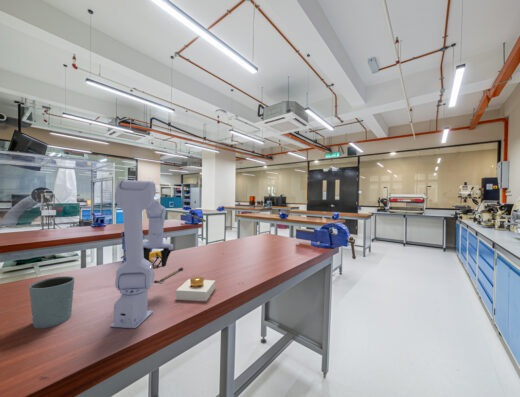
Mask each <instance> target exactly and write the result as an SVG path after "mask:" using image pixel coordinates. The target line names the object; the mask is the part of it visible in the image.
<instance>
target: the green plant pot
mask: <svg viewBox="0 0 520 397" xmlns="http://www.w3.org/2000/svg"><path fill="white" fill-rule="evenodd" d="M75 280H76V279H75V277H73V276H70V275H69V276H67V275H66V276H56V277H50V278H46V279H42V280H39V281H36V282H33V283H31V284H30V285H29V287H28V289H29V297H30V308H31V315H32V318H31V319H32V326H33V328H34V329H46V328H51V327H56V326H58V325H60V324H62V323H63V324H64V322H67V321H68V320H69V319H70V318H71V317H72V310H73V300H74V298H73V297H74V286H75Z"/></svg>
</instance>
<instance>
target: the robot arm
mask: <svg viewBox="0 0 520 397" xmlns="http://www.w3.org/2000/svg"><path fill="white" fill-rule="evenodd" d="M118 181H119V182H117V185H116V187H115V197H116V203H117V208H119V209H121V210H122V215H123V216H122V218H123V229H124V230H123V231H124V232H123V233H124V245H125V249H124V250H125V260H126V261H124V262H122V263H121V264H120V265H119V266H118V268H117V270H116V272H115V275H116V276H115V283H114V285H115V288H116V290H117V291H119V294H121V295H120V297H119V298H118V299H117V300H116V301H115V303H114V304H113V321H112V323H111V324H110V325H109V326H110V327H112V328H125V329H126V328H127V329H136V328H138V326H140V325H141V324H142V323H143V322H144V321H145V320H146V319H147V318H148V317H150V316H151V315H152V314H153V313H154V311H153V310H148V296H149V295H148V294H149V292H148V291H149V289H151V288H152V287H153V285H154V281H155V280H154V279H155V270H154V267H153V266H154V265H153V266H152V264H153V263H151V262H150V261H149V254H150V252H151V249H154V250H160V251H161V257H162V262H161V267H162V268H164V267H166V266H167V262H168V259H169V257H170V254H171V252H172V250H174V244H173V243H164V227H165V226H164V224H165V222H166V221H165V218H166V212H167V210H166V207H165V206H164V205H162V204H161V203H160V201H159V199H158V198H157V197H156V195H157V194H156V193H157V192H156V190H157V188H156V183H155V182H154V181H153V180H128V179H126V180H125V179H120V180H118ZM144 210H145V211H146V212H145V214H146V218H147V219H148V232H147V233H148V235H147V236H148V237H147V238H148V239H147V241H148V242H144V239H143V238H144V235H143V234H144V232H143V231H144V230H143V216H142V215H143V214H142V212H143V211H144Z"/></svg>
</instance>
